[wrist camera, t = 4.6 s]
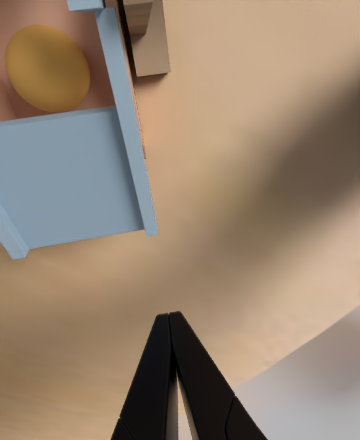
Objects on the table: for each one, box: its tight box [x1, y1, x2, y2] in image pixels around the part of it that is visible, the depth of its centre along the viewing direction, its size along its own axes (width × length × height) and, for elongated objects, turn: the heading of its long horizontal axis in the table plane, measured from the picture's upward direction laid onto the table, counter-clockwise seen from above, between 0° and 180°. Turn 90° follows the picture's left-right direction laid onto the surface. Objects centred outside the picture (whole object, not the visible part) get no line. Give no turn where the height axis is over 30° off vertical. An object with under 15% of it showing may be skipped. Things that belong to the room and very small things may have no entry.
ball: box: [5, 24, 90, 113], centre depth 12 cm, size 4×4×4 cm
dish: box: [0, 0, 146, 159], centre depth 13 cm, size 10×7×3 cm
